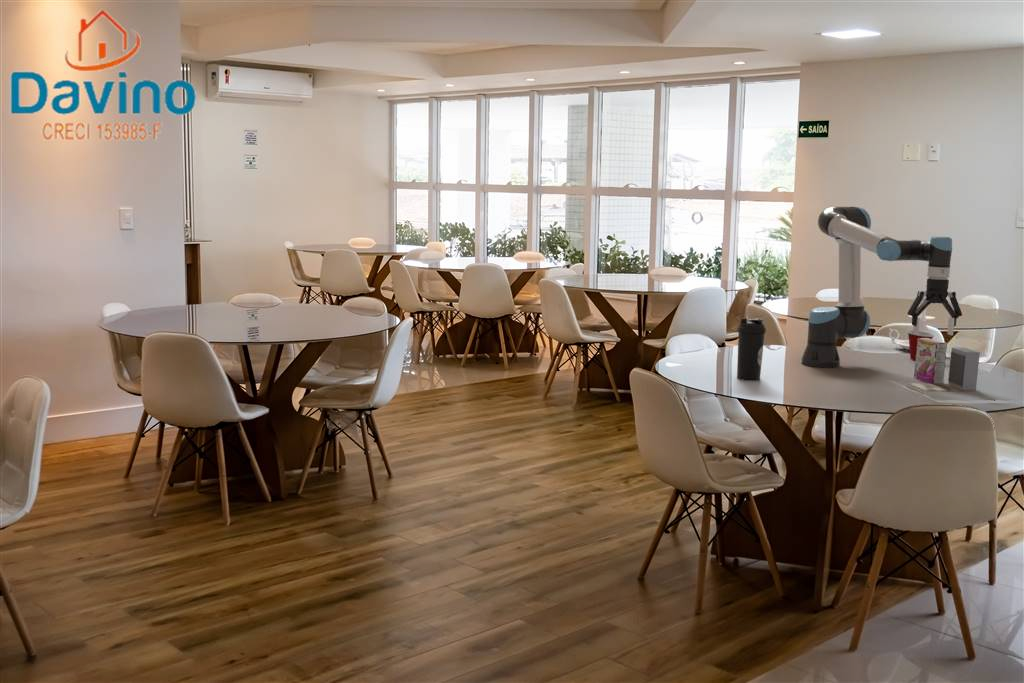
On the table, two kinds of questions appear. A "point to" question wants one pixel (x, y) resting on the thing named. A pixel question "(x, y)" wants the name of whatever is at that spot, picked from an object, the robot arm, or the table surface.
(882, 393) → the table surface
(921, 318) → the candlestick
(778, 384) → the table surface
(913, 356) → the plastic cup
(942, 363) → the candy bar box
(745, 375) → the water bottle
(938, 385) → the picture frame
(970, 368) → the grey upright block
